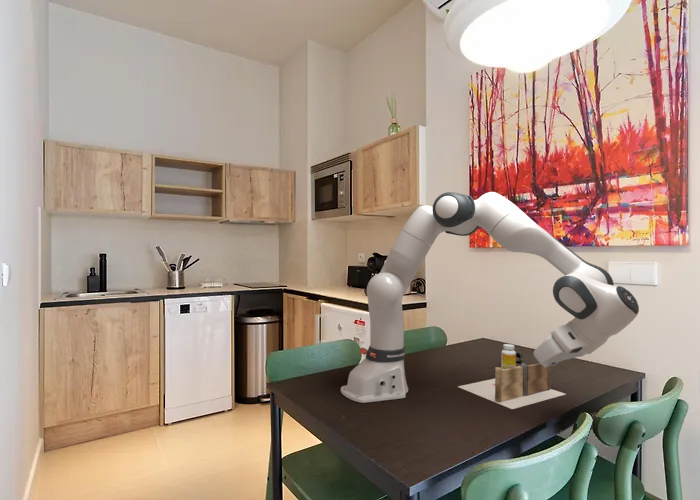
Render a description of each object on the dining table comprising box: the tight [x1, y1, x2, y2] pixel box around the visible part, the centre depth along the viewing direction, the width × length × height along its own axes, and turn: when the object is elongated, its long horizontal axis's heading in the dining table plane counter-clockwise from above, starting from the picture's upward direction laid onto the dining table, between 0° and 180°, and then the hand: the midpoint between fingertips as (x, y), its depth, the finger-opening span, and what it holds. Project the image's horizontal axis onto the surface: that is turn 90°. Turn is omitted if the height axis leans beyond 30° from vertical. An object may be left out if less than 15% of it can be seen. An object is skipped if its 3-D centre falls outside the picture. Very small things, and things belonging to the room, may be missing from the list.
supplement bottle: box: [500, 343, 517, 369], centre depth 158 cm, size 5×5×10 cm
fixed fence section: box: [520, 362, 551, 396], centre depth 132 cm, size 14×2×10 cm, turn 120°
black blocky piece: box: [514, 350, 531, 365], centre depth 170 cm, size 12×7×5 cm, turn 52°
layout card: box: [457, 378, 567, 410], centre depth 133 cm, size 26×22×1 cm
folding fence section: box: [494, 365, 523, 402], centre depth 125 cm, size 11×2×10 cm, turn 120°
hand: (547, 364), depth 114 cm, fingers closed
